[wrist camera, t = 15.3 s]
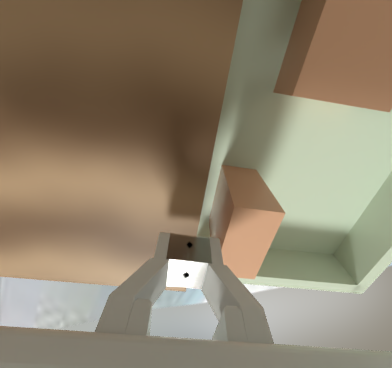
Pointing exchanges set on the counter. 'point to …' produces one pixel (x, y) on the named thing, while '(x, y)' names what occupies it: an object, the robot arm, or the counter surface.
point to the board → (106, 130)
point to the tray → (305, 164)
